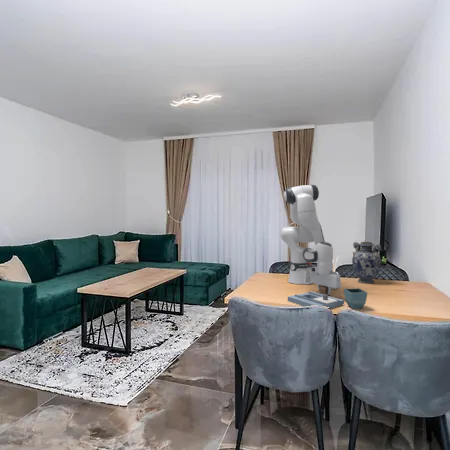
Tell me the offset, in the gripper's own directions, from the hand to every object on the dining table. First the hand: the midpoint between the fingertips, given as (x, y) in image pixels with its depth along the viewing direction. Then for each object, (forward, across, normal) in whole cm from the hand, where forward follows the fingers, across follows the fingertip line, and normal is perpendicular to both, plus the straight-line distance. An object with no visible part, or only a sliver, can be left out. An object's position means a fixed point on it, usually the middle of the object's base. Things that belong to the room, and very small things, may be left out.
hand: (324, 293), depth 192 cm
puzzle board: (+2, -6, +15) cm, 16 cm away
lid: (-1, -13, +15) cm, 20 cm away
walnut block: (+2, 0, 0) cm, 2 cm away
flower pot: (+2, -23, +4) cm, 23 cm away
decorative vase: (+2, +9, -55) cm, 56 cm away
